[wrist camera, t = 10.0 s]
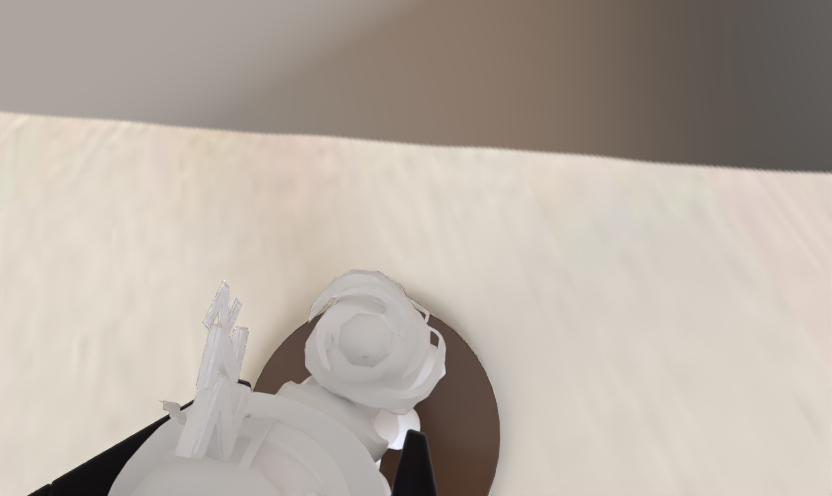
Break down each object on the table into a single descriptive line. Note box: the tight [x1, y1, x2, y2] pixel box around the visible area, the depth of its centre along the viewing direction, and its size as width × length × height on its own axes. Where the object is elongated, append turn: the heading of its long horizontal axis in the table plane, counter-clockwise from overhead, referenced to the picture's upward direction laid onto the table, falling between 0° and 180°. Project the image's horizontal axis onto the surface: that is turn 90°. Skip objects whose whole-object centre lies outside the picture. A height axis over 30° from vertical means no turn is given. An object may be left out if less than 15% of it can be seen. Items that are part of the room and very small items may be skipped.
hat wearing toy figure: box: [108, 270, 446, 496], centre depth 10 cm, size 9×4×12 cm, turn 152°
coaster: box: [253, 307, 500, 496], centre depth 19 cm, size 11×11×1 cm
